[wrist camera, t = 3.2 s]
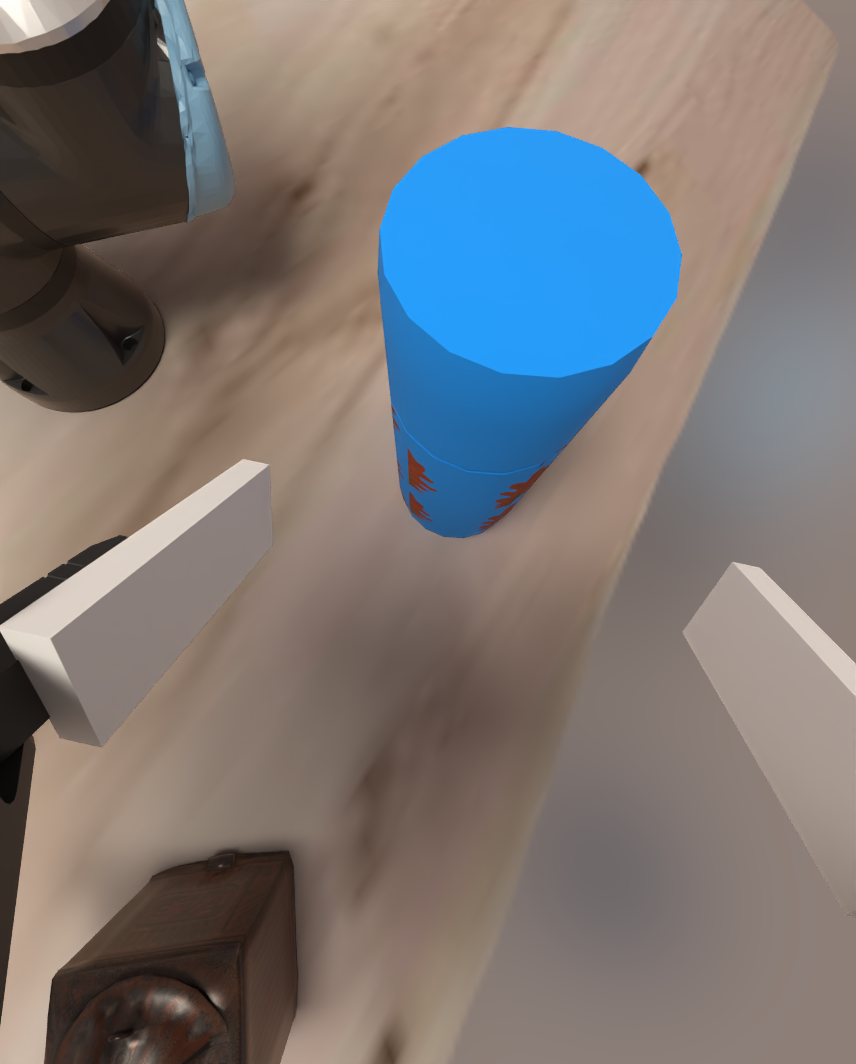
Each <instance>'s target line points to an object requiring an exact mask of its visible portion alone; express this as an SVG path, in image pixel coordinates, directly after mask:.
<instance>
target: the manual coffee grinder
mask: <svg viewBox="0 0 856 1064" xmlns="http://www.w3.org/2000/svg"><path fill="white" fill-rule="evenodd" d="M296 995H297V953H296V922H295V892H294V871H293V864H292V861H291V858H290V855H289V853H288V852H276V853H262V854H246V855H235V854H234V853H233V854H222V855H218V856H213V857H210V858H209V859H208V861H204V862H199V863H193V864H188V865H183V866H179V867H176V868H173V869H171V870H168V871H165V872H162V873H159V874H157V875H154V876H152V878H151V879H150V881H149V883H148V884H147V885H146V886H145V887H144V888H143V889H142V890H141V891H140V892H139V893H138V894H137V895H136V896H135V897H134V898H133V899H132V900H131V901H130V902H129V903H128V904H127V905H126V906H125V907H124V908H122V909H121V910H120V911H119V912H118V913H117V914H116V915H115V916H114V917H113V918H112V919H111V920H110V921H109V922H108V923H107V924H106V925H105V926H104V927H103V928H102V929H101V930H100V931H99V932H98V933H97V934H96V935H95V936H94V937H93V938H92V939H91V940H90V941H89V942H88V943H87V944H86V945H85V946H84V947H83V948H82V949H81V950H80V951H79V952H78V953H77V954H76V955H75V956H74V957H73V958H72V959H71V960H70V961H69V962H68V963H67V964H66V965H64V966H63V967H62V968H61V969H60V970H58V972H57V973H56V974H55V976H54V977H53V979H52V984H51V993H50V1002H49V1010H48V1022H47V1037H46V1048H45V1059H44V1064H280V1062H281V1059H282V1055H283V1052H284V1049H285V1046H286V1042H287V1039H288V1036H289V1032H290V1029H291V1026H292V1023H293V1020H294V1018H295V1014H296Z"/></svg>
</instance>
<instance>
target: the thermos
mask: <svg viewBox="0 0 856 1064" xmlns="http://www.w3.org/2000/svg"><path fill="white" fill-rule="evenodd" d="M681 258H682V254H681V250H680V247H679V244H678V240H677V237H676V234H675V230H674V227H673V223H672V220H671V217H670V213H669V212H668V210H667V209H666V208H665V206H664V205H663V204H662V202H661V201H660V200H659V198H658V197H657V196H656V194H655V193H654V192H653V190H652V189H651V188H650V186H649V185H648V184H647V182H646V181H645V180H644V178H643V177H642V176H641V175H640V174H638V173H637V172H635V171H634V170H633V169H631V168H630V167H628V166H627V165H626V164H624V163H623V162H621V161H620V160H619V159H617V158H616V157H614V156H613V155H612V154H610V153H609V152H607V151H606V150H605V149H603V148H601V147H598V146H595V145H593V144H590V143H587V142H585V141H582V140H579V139H576V138H574V137H571V136H568V135H565V134H563V133H560V132H557V131H547V130H536V129H524V128H513V127H506V128H501V129H495V130H490V131H484V132H479V133H474V134H468V135H463V136H460V137H458V138H457V139H455V140H453V141H451V142H449V143H447V144H445V145H443V146H441V147H440V148H438V149H436V150H434V151H432V152H430V153H428V154H426V155H424V156H423V157H421V158H420V160H419V161H418V162H417V163H416V164H415V165H414V166H413V167H412V168H411V170H410V171H409V172H408V173H407V174H406V175H405V176H404V177H403V179H402V180H401V181H400V182H399V183H398V184H397V185H396V186H395V187H394V189H393V191H392V194H391V197H390V200H389V203H388V206H387V209H386V212H385V215H384V218H383V221H382V224H381V227H380V230H379V255H378V280H379V290H380V299H381V309H382V319H383V329H384V338H385V348H386V357H387V367H388V376H389V386H390V396H391V405H392V415H393V424H394V434H395V443H396V453H397V463H398V472H399V482H400V488H401V492H402V495H403V499H404V501H405V503H406V505H407V507H408V509H409V511H410V513H411V515H412V516H413V517H414V518H415V519H416V520H417V521H418V522H419V523H420V524H421V525H422V526H424V527H425V528H426V529H428V530H430V531H432V532H434V533H437V534H439V535H441V536H444V537H457V538H465V537H469V536H472V535H476V534H479V533H482V532H484V531H485V530H486V529H488V528H489V527H490V526H492V525H493V524H495V523H496V522H497V521H498V520H500V519H501V518H502V517H503V516H504V515H506V514H507V513H508V512H509V511H510V510H511V509H512V508H513V506H514V505H515V504H516V503H517V502H518V501H519V499H520V498H521V497H522V496H523V495H524V494H525V493H526V491H527V490H528V489H529V488H530V487H531V486H532V485H533V483H534V482H535V481H536V480H537V479H538V478H539V477H540V475H541V474H542V473H543V472H544V471H545V470H546V468H547V467H548V466H549V465H550V464H551V463H552V462H553V460H554V459H555V458H556V457H557V456H558V455H559V454H560V452H561V451H562V450H563V449H564V448H565V447H566V446H567V444H568V443H569V442H570V441H571V440H572V439H573V437H574V436H575V435H576V434H577V433H578V432H579V431H580V429H581V428H582V427H583V426H584V425H585V424H586V423H587V421H588V420H589V419H590V418H591V417H592V416H593V415H594V413H595V412H596V411H597V410H598V409H599V408H600V406H601V405H602V404H603V403H604V402H605V401H606V400H607V398H608V397H609V396H610V395H611V394H612V393H613V392H614V390H615V389H616V388H617V387H618V386H619V385H620V384H621V382H622V381H623V380H624V379H625V378H626V377H627V375H628V374H629V373H630V372H631V370H632V369H633V367H634V365H635V364H636V362H637V361H638V359H639V357H640V356H641V354H642V353H643V351H644V350H645V348H646V346H647V345H648V343H649V342H650V340H651V338H652V337H653V335H654V334H655V332H656V330H657V329H658V327H659V326H660V324H661V322H662V321H663V319H664V318H665V316H666V314H667V313H668V311H669V309H670V308H671V306H672V305H673V303H674V301H675V300H676V298H677V291H678V283H679V275H680V266H681Z"/></svg>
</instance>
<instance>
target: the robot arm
mask: <svg viewBox="0 0 856 1064" xmlns="http://www.w3.org/2000/svg"><path fill="white" fill-rule="evenodd" d="M234 192H235V179H234V174H233V170H232V165H231V161H230V157H229V153H228V150H227V146H226V142H225V138H224V135H223V131H222V128H221V124H220V121H219V117H218V114H217V110H216V107H215V103H214V100H213V97H212V93H211V90H210V87H209V84H208V81H207V79H206V76H205V70H204V67H203V64H202V60H201V57H200V54H199V50H198V45H197V42H196V39H195V35H194V32H193V29H192V25H191V22H190V19H189V15H188V12H187V9H186V6H185V3H184V0H0V380H1V381H2V382H3V383H4V384H6V385H7V386H8V387H10V388H11V389H12V390H14V391H16V392H17V393H19V394H21V395H23V396H24V397H26V398H28V399H30V400H31V401H33V402H35V403H37V404H39V405H41V406H43V407H46V408H49V409H53V410H58V411H66V412H81V411H89V410H94V409H98V408H101V407H105V406H107V405H110V404H112V403H115V402H117V401H119V400H121V399H122V398H124V397H126V396H127V395H129V394H130V393H132V392H133V391H134V390H136V389H137V388H138V387H139V386H140V385H141V384H142V383H143V382H144V381H145V380H146V379H147V378H148V377H149V375H150V374H151V373H152V371H153V370H154V368H155V367H156V365H157V363H158V361H159V358H160V356H161V353H162V349H163V345H164V327H163V322H162V319H161V316H160V314H159V312H158V310H157V308H156V307H155V305H154V304H153V303H152V302H151V300H150V299H149V298H148V297H147V296H146V294H145V293H144V292H143V291H142V289H141V288H140V287H139V286H138V285H137V284H136V283H135V282H134V281H133V280H131V279H130V278H129V277H128V276H127V275H125V274H124V273H122V272H121V271H119V270H118V269H116V268H115V267H113V266H112V265H110V264H109V263H108V262H106V261H105V260H103V259H102V258H100V257H99V256H97V255H96V254H94V253H93V252H91V251H90V250H88V249H87V248H86V247H84V246H83V245H81V244H82V243H87V242H91V241H96V240H101V239H105V238H110V237H115V236H120V235H124V234H129V233H134V232H139V231H143V230H148V229H153V228H157V227H162V226H167V225H172V224H176V223H181V222H186V223H187V222H191V221H193V220H194V219H195V217H198V216H201V215H204V214H207V213H210V212H214V211H217V210H220V209H223V208H225V207H226V206H227V205H228V204H229V203H230V201H231V200H232V199H233V196H234ZM272 545H273V532H272V509H271V487H270V465H269V464H264V463H260V462H255V461H250V460H245V459H242V460H241V461H240V462H238V463H237V464H235V465H234V466H232V467H231V468H229V469H228V470H226V471H225V472H223V473H222V474H221V475H219V476H218V477H216V478H215V479H213V480H212V481H210V482H209V483H207V484H206V485H204V486H203V487H202V488H200V489H199V490H197V491H196V492H194V493H193V494H191V495H190V496H188V497H187V498H185V499H184V500H183V501H181V502H180V503H178V504H177V505H175V506H174V507H172V508H171V509H169V510H168V511H166V512H165V513H164V514H162V515H161V516H159V517H158V518H156V519H155V520H153V521H152V522H150V523H149V524H147V525H146V526H145V527H143V528H142V529H140V530H139V531H137V532H136V533H134V534H133V535H131V536H130V537H126V536H121V535H119V536H117V537H114V538H111V539H109V540H106V541H103V542H101V543H98V544H95V545H92V546H90V547H89V548H87V549H86V550H84V551H83V552H81V553H79V554H78V555H76V556H75V557H73V558H72V559H70V560H69V561H68V563H67V564H66V565H65V564H62V565H61V566H59V567H58V568H56V569H54V570H53V571H51V572H50V573H48V576H47V577H46V578H45V577H42V578H40V579H39V580H37V581H36V582H34V583H33V584H31V585H30V586H28V587H26V588H25V589H23V590H22V591H20V592H19V593H17V594H15V595H14V596H12V597H11V598H9V599H8V600H6V601H5V602H3V603H1V604H0V1024H1V1016H2V1008H3V1000H4V992H5V984H6V977H7V969H8V961H9V953H10V945H11V937H12V930H13V922H14V914H15V906H16V898H17V890H18V882H19V875H20V867H21V859H22V851H23V843H24V835H25V828H26V820H27V812H28V804H29V796H30V788H31V780H32V773H33V765H34V757H35V749H36V748H35V743H34V737H33V736H32V734H33V733H34V732H35V731H36V730H37V729H38V728H39V727H40V726H42V725H43V724H44V723H45V722H46V721H47V720H48V719H50V721H51V723H52V725H53V726H54V728H55V730H56V732H57V734H58V735H59V737H60V738H62V739H67V740H71V741H76V742H80V743H85V744H89V745H93V746H98V747H103V745H104V744H105V743H106V742H107V741H108V739H109V738H110V737H111V736H112V735H113V734H114V732H115V731H116V730H117V729H118V728H119V726H120V725H121V724H122V723H123V722H124V721H125V719H126V718H127V717H128V716H129V715H130V713H131V712H132V711H133V710H134V709H135V708H136V706H137V705H138V704H139V703H140V702H141V700H142V699H143V698H144V697H145V696H146V694H147V693H148V692H149V691H150V690H151V689H152V687H153V686H154V685H155V684H156V683H157V681H158V680H159V679H160V678H161V677H162V676H163V674H164V673H165V672H166V671H167V670H168V668H169V667H170V666H171V665H172V664H173V663H174V661H175V660H176V659H177V658H178V657H179V655H180V654H181V653H182V652H183V651H184V650H185V648H186V647H187V646H188V645H189V644H190V642H191V641H192V640H193V639H194V638H195V637H196V635H197V634H198V633H199V632H200V631H201V629H202V628H203V627H204V626H205V625H206V624H207V622H208V621H209V620H210V619H211V618H212V616H213V615H214V614H215V613H216V612H217V611H218V609H219V608H220V607H221V606H222V605H223V603H224V602H225V601H226V600H227V599H228V598H229V596H230V595H231V594H232V593H233V592H234V590H235V589H236V588H237V587H238V586H239V584H240V583H241V582H242V581H243V580H244V579H245V577H246V576H247V575H248V574H249V573H250V571H251V570H252V569H253V568H254V567H255V566H256V564H257V563H258V562H259V561H260V560H261V558H262V557H263V556H264V555H265V554H266V553H267V551H268V550H269V549H270V548H271V547H272ZM682 633H683V635H684V636H685V638H686V640H687V641H688V643H689V645H690V647H691V648H692V650H693V652H694V653H695V655H696V657H697V659H698V660H699V662H700V664H701V666H702V668H703V669H704V671H705V673H706V674H707V676H708V678H709V680H710V681H711V683H712V685H713V687H714V688H715V690H716V692H717V693H718V695H719V697H720V699H721V700H722V702H723V704H724V706H725V707H726V709H727V711H728V712H729V714H730V716H731V718H732V719H733V721H734V723H735V724H736V726H737V728H738V730H739V732H740V733H741V735H742V737H743V739H744V740H745V742H746V744H747V745H748V747H749V749H750V751H751V752H752V754H753V756H754V757H755V759H756V761H757V763H758V764H759V766H760V768H761V770H762V771H763V773H764V775H765V777H766V778H767V780H768V782H769V784H770V785H771V787H772V789H773V790H774V792H775V794H776V796H777V797H778V799H779V801H780V803H781V804H782V806H783V808H784V810H785V811H786V813H787V815H788V817H789V818H790V820H791V822H792V823H793V825H794V827H795V829H796V830H797V832H798V834H799V836H800V837H801V839H802V841H803V842H804V844H805V846H806V848H807V849H808V851H809V853H810V855H811V856H812V858H813V860H814V861H815V863H816V865H817V867H818V869H819V870H820V872H821V874H822V875H823V877H824V879H825V881H826V882H827V884H828V886H829V888H830V889H831V891H832V893H833V894H834V896H835V898H836V900H837V901H838V903H839V905H840V906H841V908H842V910H843V912H844V913H845V915H847V916H852V917H856V664H855V663H854V662H853V661H852V660H851V659H850V658H849V657H848V656H847V655H846V654H845V653H844V652H843V651H842V650H841V649H840V648H839V647H838V646H837V645H836V644H835V643H834V642H833V641H832V640H831V639H830V638H829V637H828V636H827V635H826V634H825V633H824V632H823V631H822V630H821V629H820V628H819V627H818V625H816V624H815V623H814V621H812V620H811V618H810V617H808V615H807V614H805V612H803V610H802V609H801V608H799V606H797V605H796V603H795V602H793V600H792V599H791V598H790V597H789V596H788V595H787V594H786V593H784V591H783V590H782V589H781V588H780V587H779V586H778V585H777V584H776V583H775V582H774V581H773V580H772V579H771V578H770V577H769V576H768V575H767V574H766V573H765V572H764V571H763V570H762V569H761V568H759V567H753V566H749V565H744V564H740V563H735V562H732V563H731V565H730V566H729V567H728V569H727V570H726V572H725V573H724V574H723V576H722V577H721V579H720V580H719V581H718V583H717V584H716V586H715V587H714V588H713V590H712V591H711V593H710V594H709V596H708V597H707V599H706V600H705V601H704V603H703V604H702V605H701V607H700V608H699V610H698V611H697V613H696V614H695V615H694V617H693V618H692V619H691V621H690V622H689V624H688V625H687V626H686V628H685V629H684V631H683V632H682Z"/></svg>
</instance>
